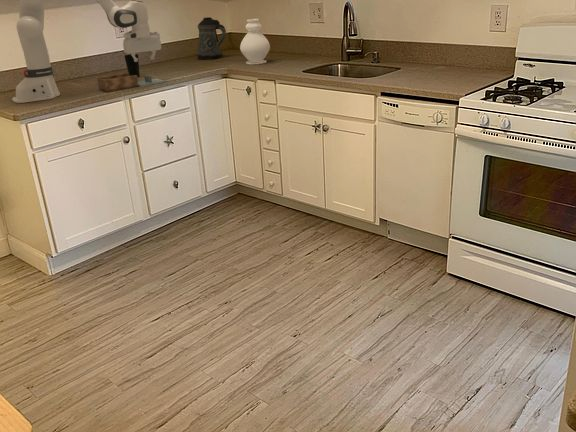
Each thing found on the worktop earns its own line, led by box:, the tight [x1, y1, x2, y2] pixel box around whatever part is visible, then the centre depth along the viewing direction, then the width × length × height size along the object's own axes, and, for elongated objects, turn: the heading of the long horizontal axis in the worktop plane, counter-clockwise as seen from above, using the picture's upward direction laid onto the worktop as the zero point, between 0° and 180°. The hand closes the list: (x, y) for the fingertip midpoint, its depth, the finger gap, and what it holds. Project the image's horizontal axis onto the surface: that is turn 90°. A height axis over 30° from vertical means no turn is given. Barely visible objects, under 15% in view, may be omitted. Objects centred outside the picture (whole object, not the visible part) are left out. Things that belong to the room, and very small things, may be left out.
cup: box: [124, 53, 141, 78], centre depth 334 cm, size 8×8×12 cm
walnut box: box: [96, 72, 140, 93], centre depth 307 cm, size 17×11×6 cm, turn 128°
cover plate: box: [138, 75, 165, 87], centre depth 317 cm, size 14×8×4 cm, turn 128°
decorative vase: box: [239, 18, 271, 65], centre depth 355 cm, size 18×18×25 cm
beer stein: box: [196, 16, 227, 61], centre depth 382 cm, size 16×19×25 cm
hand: (144, 60), depth 313 cm, fingers open, 8 cm apart
